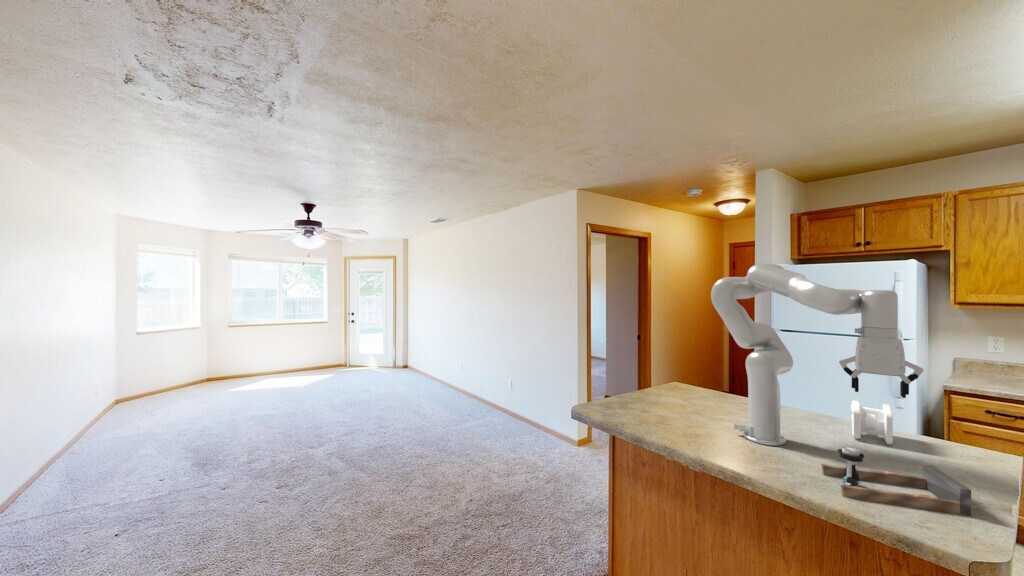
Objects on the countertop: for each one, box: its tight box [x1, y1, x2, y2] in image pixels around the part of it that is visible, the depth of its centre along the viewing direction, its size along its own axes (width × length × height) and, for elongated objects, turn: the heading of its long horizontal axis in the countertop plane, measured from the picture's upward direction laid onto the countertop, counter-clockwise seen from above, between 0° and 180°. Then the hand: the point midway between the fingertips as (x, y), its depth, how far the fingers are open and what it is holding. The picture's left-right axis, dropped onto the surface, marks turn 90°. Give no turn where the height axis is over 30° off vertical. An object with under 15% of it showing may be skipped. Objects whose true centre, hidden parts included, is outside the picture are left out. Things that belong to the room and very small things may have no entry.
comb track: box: [821, 463, 972, 516], centre depth 102 cm, size 24×14×6 cm, turn 70°
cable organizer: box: [850, 399, 894, 446], centre depth 138 cm, size 15×11×12 cm
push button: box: [837, 446, 865, 487], centre depth 104 cm, size 7×5×10 cm
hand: (879, 393), depth 110 cm, fingers open, 9 cm apart
